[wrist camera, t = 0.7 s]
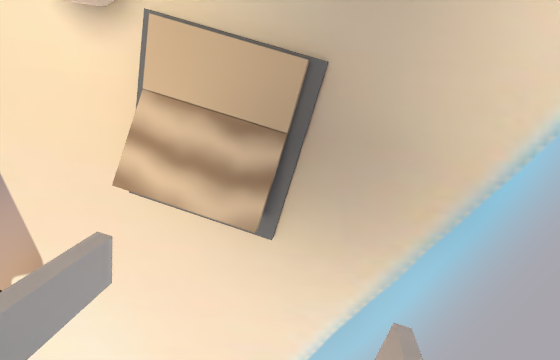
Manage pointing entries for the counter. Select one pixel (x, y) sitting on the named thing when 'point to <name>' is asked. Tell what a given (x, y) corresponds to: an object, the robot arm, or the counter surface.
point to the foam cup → (93, 2)
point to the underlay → (233, 87)
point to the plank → (200, 160)
